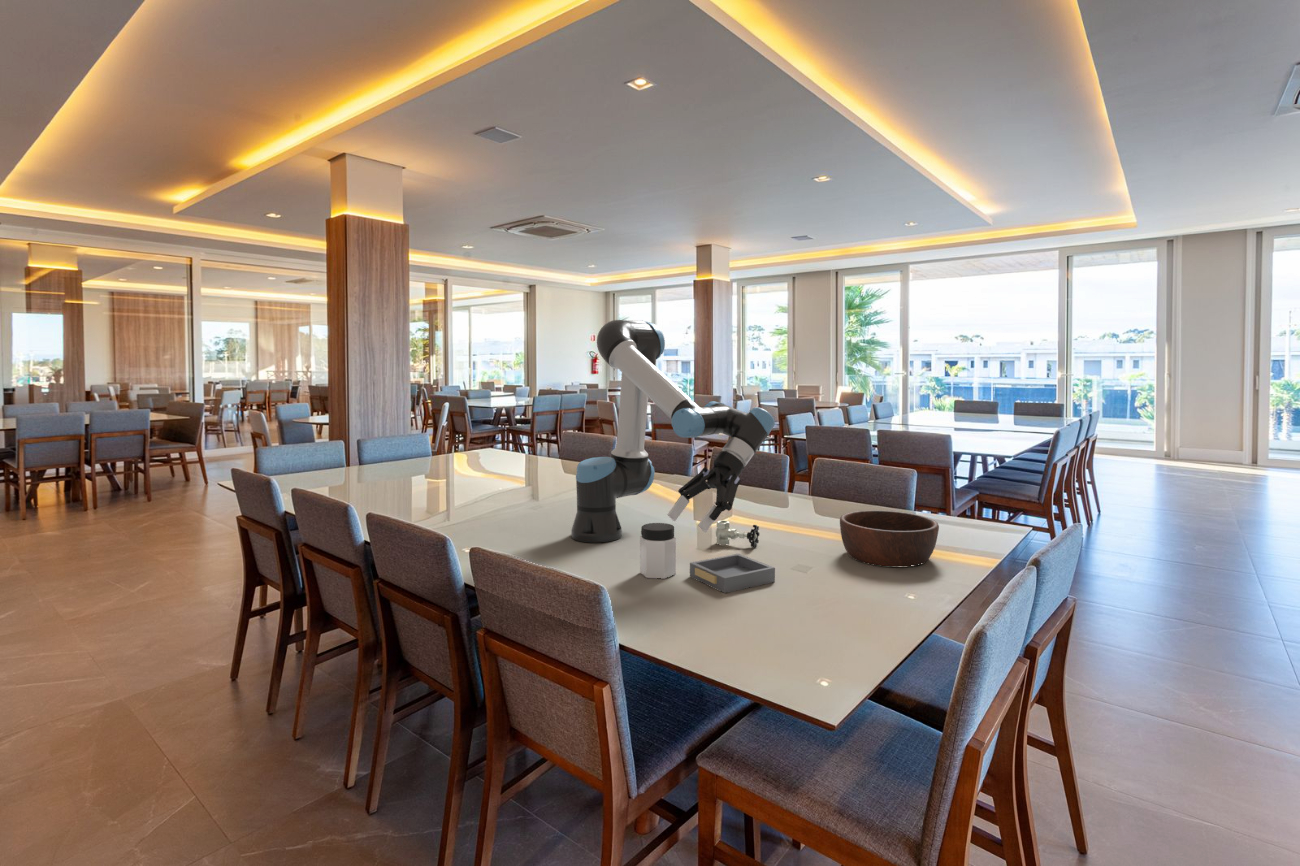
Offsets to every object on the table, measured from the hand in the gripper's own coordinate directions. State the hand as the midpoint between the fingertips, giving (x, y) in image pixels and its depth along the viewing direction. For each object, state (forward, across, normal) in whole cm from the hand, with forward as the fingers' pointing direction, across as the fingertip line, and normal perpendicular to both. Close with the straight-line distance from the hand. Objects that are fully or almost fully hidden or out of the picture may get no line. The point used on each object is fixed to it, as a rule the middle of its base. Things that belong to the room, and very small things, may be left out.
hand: (685, 523), depth 171 cm
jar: (+14, +1, -3) cm, 14 cm away
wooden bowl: (-28, -19, -46) cm, 57 cm away
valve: (-9, +12, -27) cm, 30 cm away
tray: (+5, -12, -12) cm, 18 cm away
